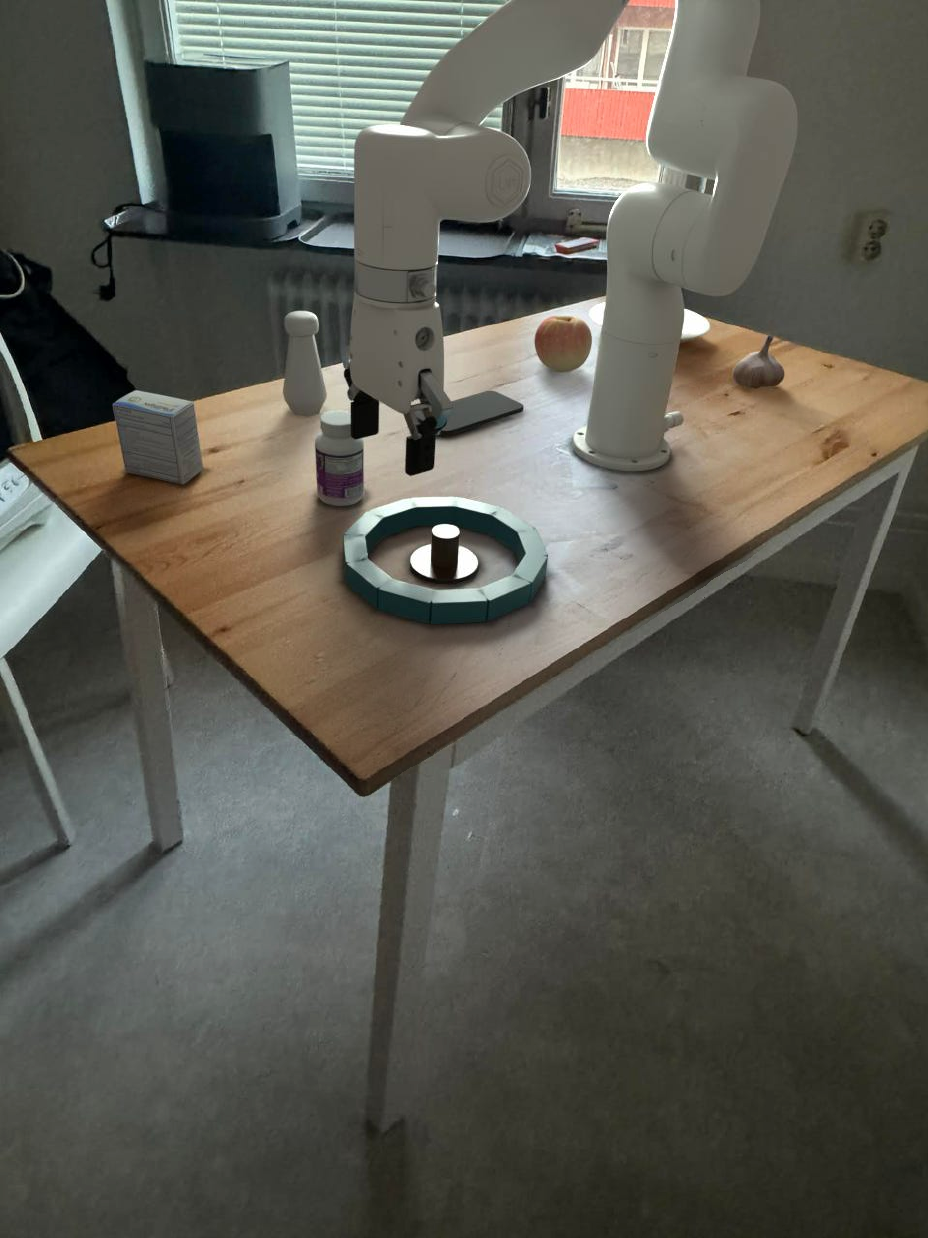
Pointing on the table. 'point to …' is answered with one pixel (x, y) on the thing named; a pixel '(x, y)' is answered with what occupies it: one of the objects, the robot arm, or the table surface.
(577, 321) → the apple
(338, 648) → the table surface
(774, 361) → the garlic bulb
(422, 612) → the ring
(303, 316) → the salt shaker
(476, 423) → the phone
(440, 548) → the peg stand
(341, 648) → the table surface
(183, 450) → the medicine box
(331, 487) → the pill bottle
